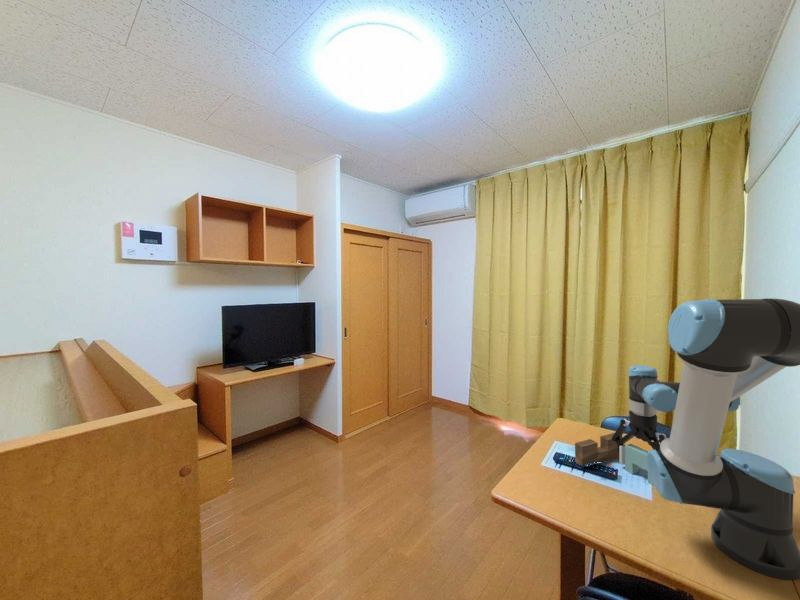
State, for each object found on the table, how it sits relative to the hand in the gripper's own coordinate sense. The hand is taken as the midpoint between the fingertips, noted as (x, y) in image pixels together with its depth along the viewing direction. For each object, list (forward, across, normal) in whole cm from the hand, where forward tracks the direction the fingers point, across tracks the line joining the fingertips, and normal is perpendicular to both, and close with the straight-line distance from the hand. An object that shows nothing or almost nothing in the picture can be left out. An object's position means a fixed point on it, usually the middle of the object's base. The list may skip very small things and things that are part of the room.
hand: (643, 473), depth 108 cm
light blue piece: (+1, 0, 0) cm, 1 cm away
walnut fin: (+1, +13, +4) cm, 14 cm away
